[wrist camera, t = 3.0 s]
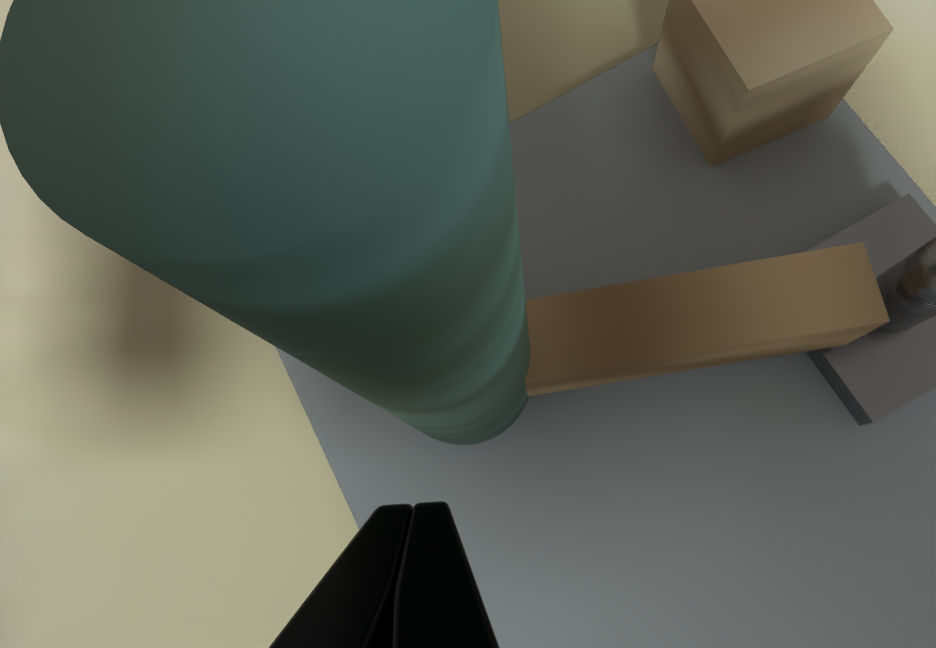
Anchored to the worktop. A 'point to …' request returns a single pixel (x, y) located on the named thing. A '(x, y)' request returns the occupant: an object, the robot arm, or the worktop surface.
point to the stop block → (762, 65)
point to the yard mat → (673, 412)
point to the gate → (365, 202)
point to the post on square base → (909, 309)
